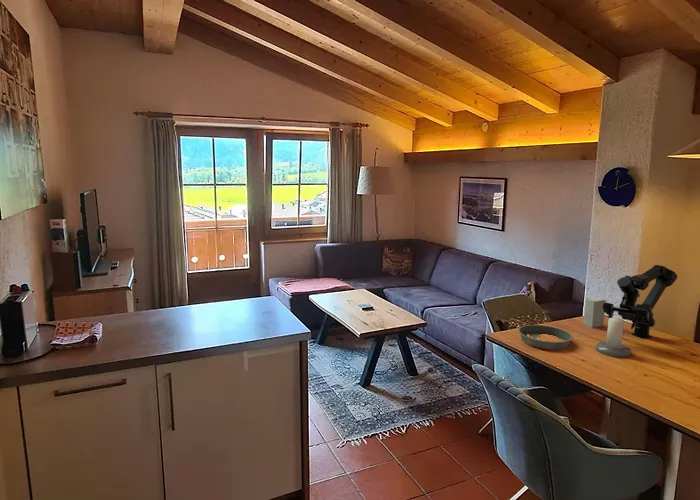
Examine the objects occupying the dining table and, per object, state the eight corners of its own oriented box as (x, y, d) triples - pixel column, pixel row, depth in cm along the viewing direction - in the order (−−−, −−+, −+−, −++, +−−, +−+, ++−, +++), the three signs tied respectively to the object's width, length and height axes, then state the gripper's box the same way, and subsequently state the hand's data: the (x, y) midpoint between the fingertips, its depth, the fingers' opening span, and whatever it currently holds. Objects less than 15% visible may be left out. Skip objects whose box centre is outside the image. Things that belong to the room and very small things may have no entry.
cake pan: (529, 351, 210) (530, 342, 209) (509, 333, 234) (510, 324, 234) (582, 351, 211) (583, 341, 210) (557, 332, 235) (557, 324, 235)
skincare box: (594, 323, 250) (597, 296, 248) (603, 326, 245) (606, 299, 242) (582, 324, 247) (585, 298, 245) (591, 328, 242) (594, 300, 239)
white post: (616, 345, 212) (619, 318, 210) (623, 349, 207) (626, 322, 204) (603, 344, 213) (606, 317, 211) (610, 349, 207) (612, 321, 205)
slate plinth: (611, 344, 219) (611, 340, 218) (638, 355, 206) (638, 351, 205) (588, 348, 214) (589, 343, 214) (614, 359, 201) (615, 354, 201)
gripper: (654, 312, 218) (645, 340, 212) (610, 304, 231) (601, 330, 225) (651, 299, 211) (642, 327, 205) (607, 291, 224) (597, 318, 219)
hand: (620, 326), depth 214 cm, fingers open, 9 cm apart
